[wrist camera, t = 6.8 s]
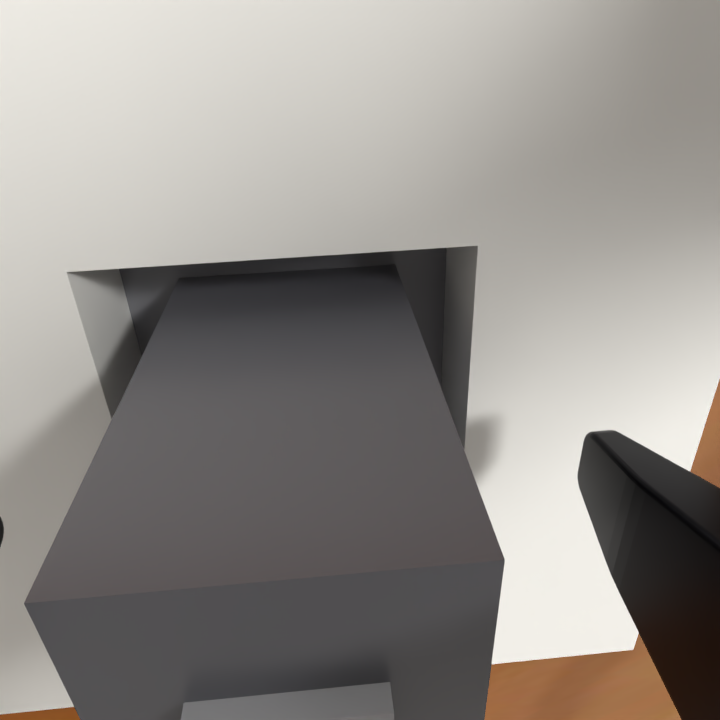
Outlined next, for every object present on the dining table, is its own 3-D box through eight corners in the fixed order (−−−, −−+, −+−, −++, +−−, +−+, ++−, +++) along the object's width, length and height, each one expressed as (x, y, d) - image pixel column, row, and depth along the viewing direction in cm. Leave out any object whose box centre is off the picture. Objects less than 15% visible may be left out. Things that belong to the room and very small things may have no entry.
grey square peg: (395, 264, 11) (515, 589, 5) (396, 434, 13) (481, 821, 7) (178, 277, 11) (7, 636, 5) (213, 449, 13) (128, 861, 7)
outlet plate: (728, -109, 9) (889, -156, 7) (583, 553, 17) (633, 649, 14) (-268, -76, 9) (-516, -116, 6) (46, 602, 16) (-3, 714, 14)
